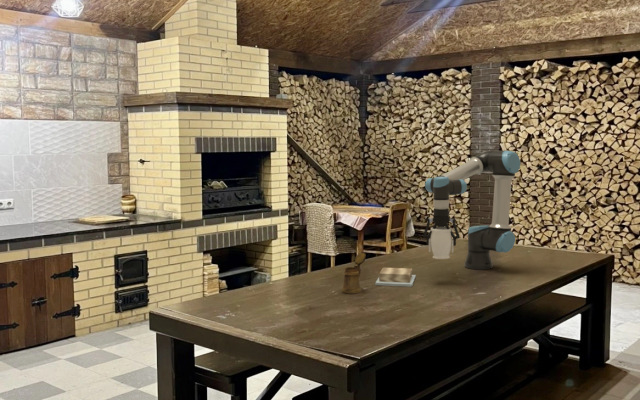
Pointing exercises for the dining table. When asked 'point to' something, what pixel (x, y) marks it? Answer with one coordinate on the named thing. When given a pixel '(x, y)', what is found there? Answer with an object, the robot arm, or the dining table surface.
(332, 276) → the dining table surface
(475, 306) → the dining table surface
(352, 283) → the wooden mug
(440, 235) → the jar
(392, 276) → the tan flat block
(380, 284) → the board
